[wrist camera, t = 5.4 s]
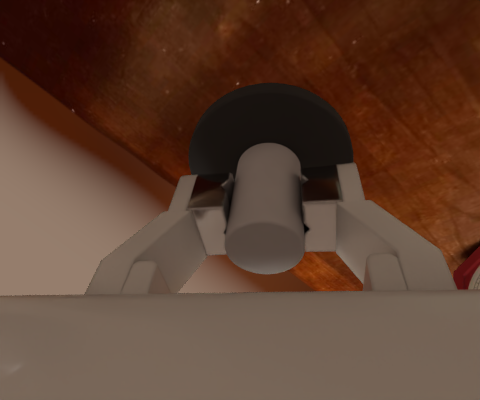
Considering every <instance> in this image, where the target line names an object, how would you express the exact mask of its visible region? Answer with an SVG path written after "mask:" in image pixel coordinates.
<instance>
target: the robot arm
mask: <svg viewBox="0 0 480 400" xmlns="http://www.w3.org/2000/svg"><path fill="white" fill-rule="evenodd" d="M300 173H301V193H302V210H303V223H304V239H305V252H311V251H336V253H337V254H338V255H339V256H340V258H341V259H342V260H343V261H344V262H345V263H346V265H347V266H348V267H349V268H350V269H351V270H352V272H353V273H354V274H355V275H356V276H357V277H358V278H359V280H360V281H361V282H362V283H363V284H364V285H363V291H320V292H247V293H246V292H244V293H178V294H177V292H178V291H179V290H180V289H181V288H182V287H183V285H184V284H185V283H186V282H187V281H188V279H189V278H190V277H191V276H192V274H193V273H194V272H195V271H196V270H197V268H198V267H199V266H200V265H201V264H202V262H203V261H204V260H205V259H206V258H207V255H223V254H227V253H226V251H225V246H224V242H225V236H226V231H227V225H228V219H229V213H230V207H231V201H232V196H233V190H234V184H235V182H234V178H233V175H232V174H231V173H218V174H199V175H185V176H182V177H181V178H180V179H179V182H178V185H177V188H176V190H175V193H174V196H173V199H172V201H171V204H170V207H169V210H168V212H162V213H161V214H160V215H158V216H157V217H156V218H155V219H153V220H152V221H151V222H150V223H148V224H147V225H146V226H144V227H143V228H142V229H141V230H139V231H138V232H137V233H136V234H134V235H133V236H132V237H131V238H130V239H128V240H127V241H125V242H124V243H123V244H122V245H120V246H119V247H118V248H117V249H115V250H114V251H113V252H112V253H110V254H109V255H108V256H106V257H105V258H104V259H103V260H101V262H100V264H99V266H98V268H97V270H96V272H95V274H94V276H93V278H92V280H91V282H90V284H89V286H88V288H87V290H86V292H85V294H84V295H25V296H24V295H23V296H0V400H480V289H469V290H458V289H457V287H456V285H455V282H454V280H453V278H452V275H451V273H450V270H449V268H448V266H447V263H446V261H445V259H444V256H443V254H442V251H441V250H440V249H438V248H437V247H436V246H434V245H433V244H431V243H430V242H429V241H427V240H426V239H424V238H423V237H422V236H420V235H419V234H417V233H416V232H415V231H413V230H412V229H410V228H409V227H408V226H406V225H405V224H403V223H402V222H401V221H399V220H398V219H396V218H395V217H394V216H392V215H391V214H389V213H388V212H387V211H385V210H384V209H382V208H381V207H380V206H378V205H377V204H375V203H374V202H373V201H371V200H365V197H364V193H363V190H362V186H361V182H360V178H359V174H358V170H357V166H356V164H355V163H346V164H336V165H331V166H319V167H307V168H300Z"/></svg>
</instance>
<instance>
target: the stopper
mask: <svg viewBox="0 0 480 400" xmlns="http://www.w3.org/2000/svg"><path fill="white" fill-rule="evenodd" d="M346 163H353V149H352V144H351V140H350V136H349V133H348V130H347V127H346V125H345V123H344V122H343V120H342V118H341V117H340V115H339V114H338V113H337V112H336V110H335V109H334V108H333V107H332V106H331V105H330V104H328V103H327V102H326V101H325V100H323V99H322V98H320V97H319V96H317V95H316V94H314V93H312V92H310V91H308V90H305V89H302V88H299V87H296V86H292V85H287V84H279V83H261V84H255V85H249V86H245V87H242V88H239V89H236V90H234V91H232V92H230V93H228V94H226V95H224V96H223V97H221V98H220V99H218V100H217V101H216V102H215V103H213V104H212V105H211V106H210V107H209V108H208V109H207V110H206V112H205V113H204V114H203V115H202V117H201V118H200V120H199V122H198V124H197V126H196V128H195V131H194V133H193V136H192V139H191V143H190V147H189V166H190V170H191V174H192V175H199V174H218V173H231V174H232V175H233V178H234V182H235V184H234V190H233V196H232V201H231V207H230V213H229V219H228V225H227V231H226V236H225V242H224V246H225V251H226V253H227V255H228V257H229V258H230V260H231V261H232V262H233V263H235V264H236V265H237V266H239V267H240V268H242V269H245V270H247V271H251V272H254V273H260V274H274V273H280V272H283V271H286V270H289V269H291V268H292V267H294V266H295V265H297V264H298V263H299V262H300V260H301V259H302V257H303V255H304V251H305V239H304V223H303V210H302V193H301V173H300V168H307V167H319V166H331V165H336V164H346Z"/></svg>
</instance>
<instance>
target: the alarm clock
mask: <svg viewBox="0 0 480 400" xmlns="http://www.w3.org/2000/svg"><path fill="white" fill-rule="evenodd" d="M453 280H454V282H455V285H456V287H457V289H458V290H469V289H480V246H479V247H478V248H477V249H476V250H475V251H474V252H473V253H472V254H471V255H470V256H469V257H468V258H467V259H466V260H465V261H464V262H463V263H462V264H461V265H460V266H459V267H458V268H457V269H456V270H455V271H454V274H453Z"/></svg>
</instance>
